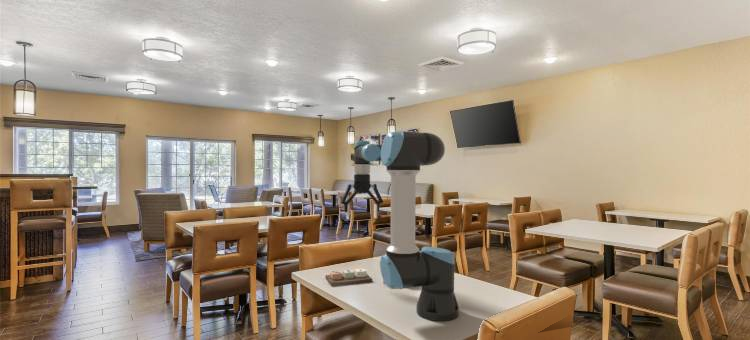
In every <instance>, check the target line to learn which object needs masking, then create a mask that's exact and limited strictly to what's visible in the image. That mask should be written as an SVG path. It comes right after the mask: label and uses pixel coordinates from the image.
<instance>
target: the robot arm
mask: <svg viewBox="0 0 750 340" xmlns="http://www.w3.org/2000/svg"><path fill="white" fill-rule="evenodd" d="M353 144H354V147H353V153H354V154H353V157H354V159H353V163H354V164H353V167H354V168H353V173H354V174H353V184H351V183H348V184H346V185H347V186H346V190H345V192H344V194H343V196H342V198H341V200H340V204H342V205H344V208H343V209H344V213H346V214H345V215H346V217H345V218H346V220H348V221H349V220H350V205H349V204H350V203H351V202H352V200H353V199H354V198H355V197H356V195H357V194H358V195H359V194H360V195H361V194H367V195H368V196H369V197H370V198H371V200H372V201H373V202H374V204H373V218H374V219H378V212H379V211H380V205H381V204H383V203H384V200H383V198H382V196H381V194H380V192H379V190H378V185H377V183H373V184H372V183H371V175H370V173H371V162H381V164H382V165H383V166H386V172H388V174H389V175H390V244H389V245H388V246H387V247H386V249H385V251H386V252H385V254H386V255H385V254H383V255H382V256H380V260H379V268H380V273H381V277H382V280H384V282H385V285H386V286H387V288H389V289H391V290H403V289H411V288H420V287H421V291H420V293H419V297H418V300H417V302H416V314H417V315H418V316H420V317H422V318H423V319H426V320H430V321H437V322H444V321H451V320H455V319H457V318H458V317H459V314H460V308H459V304H458V300H457V298H456V294H455V265H456V263H455V254H454V252H452V251H451V250H449V249H447V248H442V247H435V246H423V247H422V248H421V249H420V248H419V247H418V246H417V245H416V190H417V189H416V185H417V184H416V183H417V182H416V179H417V177H416V176H417V175H418V174H419V173H420V172H421V167H423V166H431V165H435V164H437V163H438V162H440V161H441V160H442V159H443V157H444V155H445V152H446V151H445V150H446V147H445V144H444V141H443V139H441V138H440V137H439V136H438V135H436V134H434V133H431V132H416V131H391V132H389V133H387V134H386V135H385V137H384V139H383V141H382V143H381V144H377V143H371V142H370V141H369V140H355V142H354V143H353ZM371 188H372V190H373V192H374V194H373V193H372V191H371V190H370V189H371ZM351 189H354V190H353V191H352V193H351V194H350V195H349V193H350V191H351ZM348 195H349V197H348ZM375 196H376V197H375Z"/></svg>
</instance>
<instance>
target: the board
mask: <svg viewBox="0 0 750 340" xmlns="http://www.w3.org/2000/svg"><path fill="white" fill-rule="evenodd" d="M325 280H326V281H327V282H328V285H330V287H338V286H347V285H357V284H365V283H372V282H373V278H372V277H371V276H370V275H369V274H367V276H366V277H356V276H355V278H346V279H345V278H344V277H343V273H342V279H336V280H332V279H331V277H330V274H325Z"/></svg>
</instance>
